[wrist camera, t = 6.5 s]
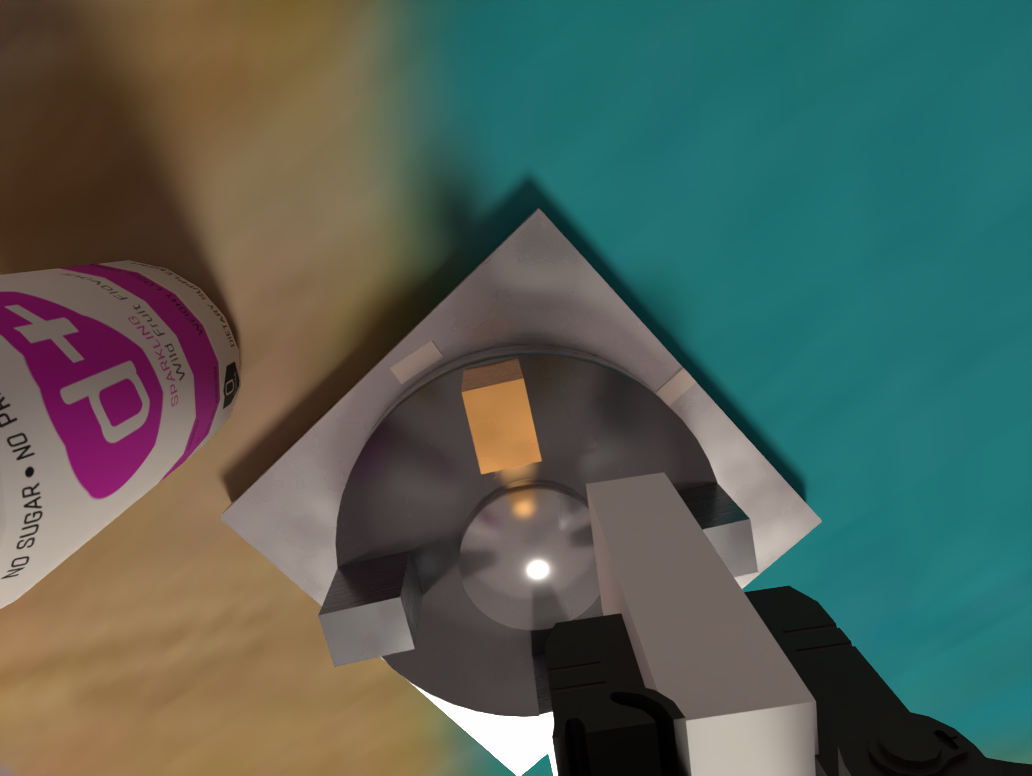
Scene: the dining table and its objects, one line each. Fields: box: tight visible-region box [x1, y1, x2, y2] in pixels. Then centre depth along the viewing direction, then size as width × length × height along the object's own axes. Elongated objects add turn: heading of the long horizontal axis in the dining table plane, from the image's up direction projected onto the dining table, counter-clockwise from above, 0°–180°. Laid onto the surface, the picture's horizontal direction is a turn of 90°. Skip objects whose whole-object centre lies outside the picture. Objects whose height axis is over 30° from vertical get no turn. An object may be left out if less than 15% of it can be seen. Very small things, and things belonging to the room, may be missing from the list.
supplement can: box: [0, 260, 241, 609], centre depth 22 cm, size 8×8×15 cm
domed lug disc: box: [318, 345, 758, 776], centre depth 27 cm, size 15×15×6 cm
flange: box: [219, 208, 822, 776], centre depth 31 cm, size 18×18×2 cm
